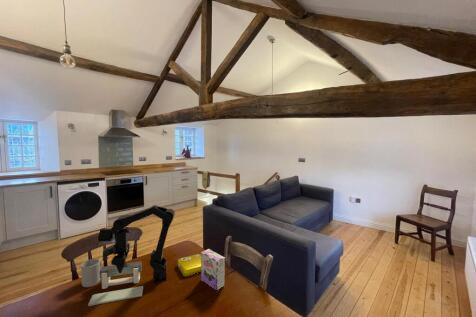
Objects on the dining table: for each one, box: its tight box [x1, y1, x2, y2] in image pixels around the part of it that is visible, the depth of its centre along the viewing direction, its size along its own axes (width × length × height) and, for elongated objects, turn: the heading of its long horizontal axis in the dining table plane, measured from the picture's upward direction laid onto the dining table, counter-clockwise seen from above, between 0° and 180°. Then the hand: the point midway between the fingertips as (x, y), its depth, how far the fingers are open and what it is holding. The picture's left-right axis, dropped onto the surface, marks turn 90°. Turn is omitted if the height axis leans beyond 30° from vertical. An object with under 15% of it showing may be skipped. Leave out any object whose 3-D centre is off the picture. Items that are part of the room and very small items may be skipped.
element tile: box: [177, 253, 201, 278], centre depth 136 cm, size 15×15×5 cm
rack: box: [101, 268, 141, 290], centre depth 121 cm, size 18×7×8 cm, turn 108°
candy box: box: [200, 248, 226, 291], centre depth 121 cm, size 14×6×16 cm, turn 46°
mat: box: [87, 285, 144, 307], centre depth 110 cm, size 23×7×1 cm, turn 108°
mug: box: [80, 258, 103, 288], centre depth 122 cm, size 12×8×11 cm
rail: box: [99, 260, 143, 279], centre depth 121 cm, size 20×4×4 cm, turn 108°
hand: (121, 268), depth 121 cm, fingers open, 9 cm apart
